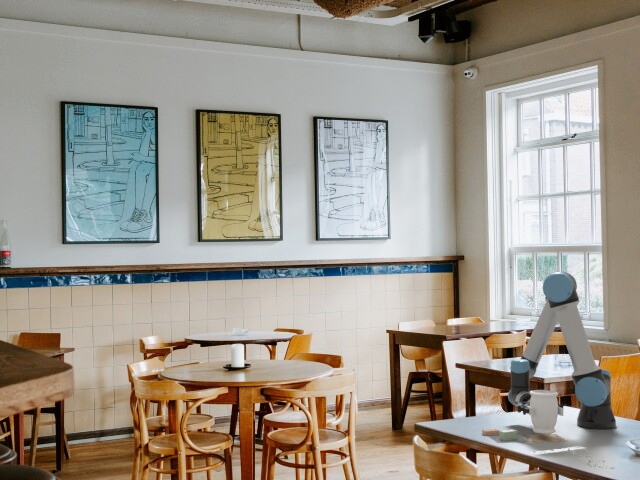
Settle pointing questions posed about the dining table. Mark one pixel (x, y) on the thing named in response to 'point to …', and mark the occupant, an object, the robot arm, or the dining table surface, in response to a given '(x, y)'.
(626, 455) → the dining table surface
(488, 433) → the terracotta brick
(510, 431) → the sage brick
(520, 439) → the slate board
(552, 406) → the jar
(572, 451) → the scattered white crumbs
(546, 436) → the sand pile
